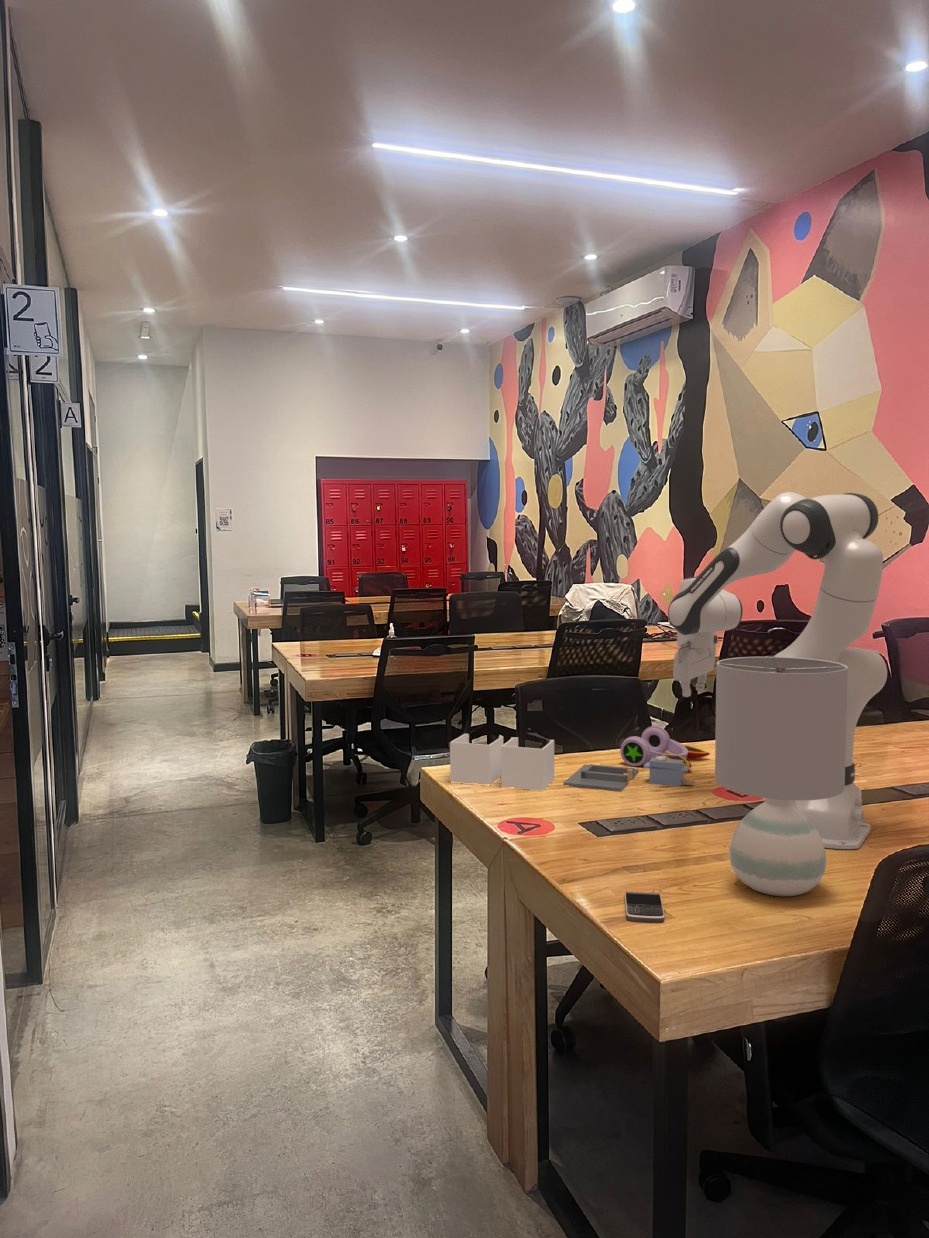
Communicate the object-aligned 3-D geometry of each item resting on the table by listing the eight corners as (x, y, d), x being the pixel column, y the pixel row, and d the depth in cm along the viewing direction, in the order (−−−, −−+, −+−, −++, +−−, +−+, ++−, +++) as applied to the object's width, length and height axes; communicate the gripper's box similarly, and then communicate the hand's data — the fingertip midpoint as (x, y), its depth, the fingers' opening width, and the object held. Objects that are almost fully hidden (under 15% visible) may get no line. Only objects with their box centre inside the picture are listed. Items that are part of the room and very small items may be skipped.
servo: (692, 788, 222) (693, 761, 221) (643, 783, 226) (643, 757, 226) (695, 784, 225) (695, 758, 225) (646, 779, 230) (647, 753, 230)
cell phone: (626, 923, 144) (626, 915, 144) (624, 897, 155) (624, 889, 154) (665, 926, 143) (665, 917, 143) (660, 899, 154) (660, 891, 154)
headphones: (642, 725, 261) (708, 723, 251) (645, 757, 262) (712, 757, 251) (617, 737, 245) (686, 736, 234) (621, 772, 245) (690, 773, 234)
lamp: (832, 870, 165) (838, 658, 161) (850, 918, 144) (857, 675, 140) (713, 860, 170) (716, 655, 167) (713, 905, 150) (716, 671, 146)
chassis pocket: (621, 791, 219) (621, 781, 219) (563, 785, 225) (563, 775, 224) (638, 772, 237) (638, 763, 237) (584, 767, 243) (584, 758, 243)
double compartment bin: (450, 783, 229) (449, 742, 228) (465, 773, 239) (464, 733, 238) (542, 792, 220) (542, 749, 219) (554, 781, 230) (554, 739, 229)
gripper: (692, 645, 212) (690, 701, 213) (720, 636, 228) (718, 688, 230) (667, 643, 215) (665, 698, 217) (697, 634, 232) (695, 685, 234)
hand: (693, 693), depth 224 cm, fingers open, 8 cm apart
